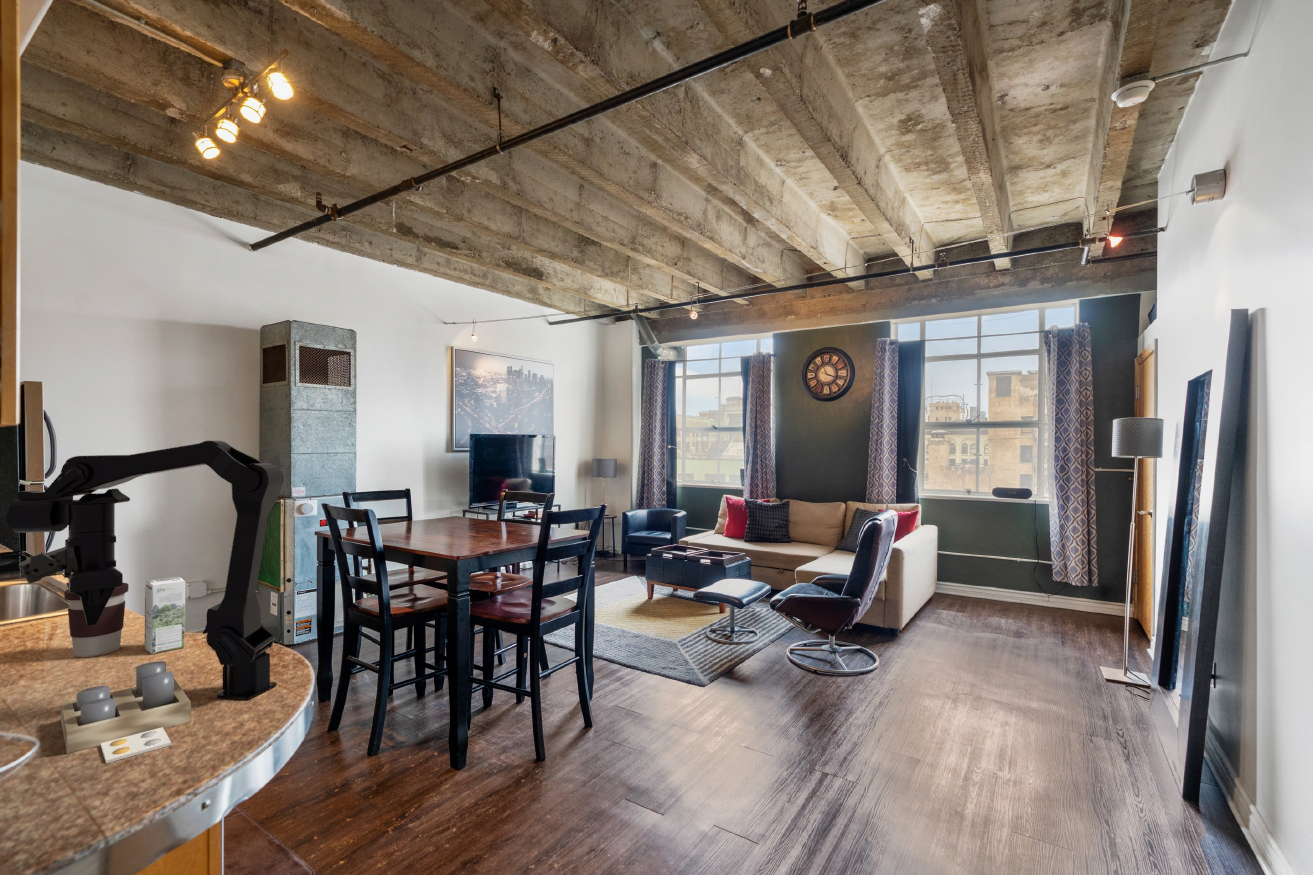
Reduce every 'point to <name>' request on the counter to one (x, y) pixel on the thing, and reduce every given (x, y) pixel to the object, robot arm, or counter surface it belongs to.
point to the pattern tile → (134, 744)
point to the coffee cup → (96, 625)
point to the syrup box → (164, 614)
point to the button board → (122, 719)
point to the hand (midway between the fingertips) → (91, 624)
